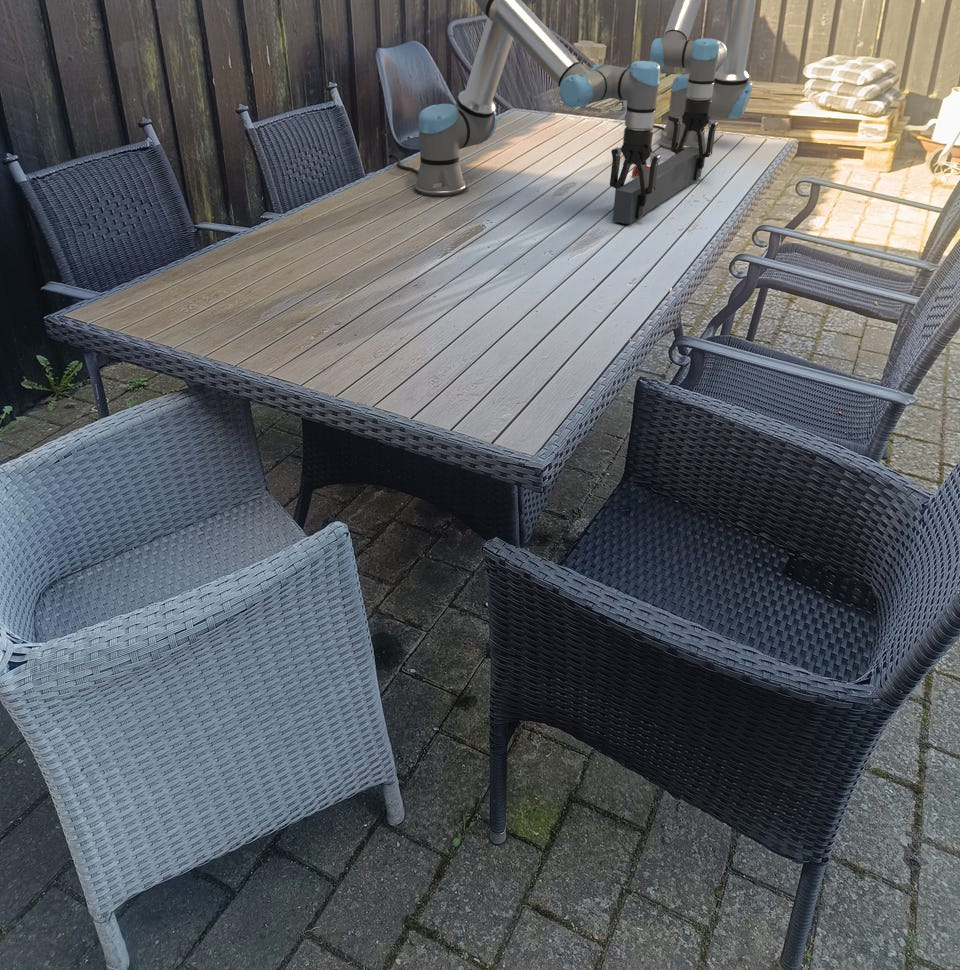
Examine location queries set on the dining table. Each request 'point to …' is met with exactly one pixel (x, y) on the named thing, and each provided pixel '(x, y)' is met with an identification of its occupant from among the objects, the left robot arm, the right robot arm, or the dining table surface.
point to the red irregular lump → (636, 172)
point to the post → (657, 185)
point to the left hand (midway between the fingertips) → (629, 215)
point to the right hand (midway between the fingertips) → (687, 177)
